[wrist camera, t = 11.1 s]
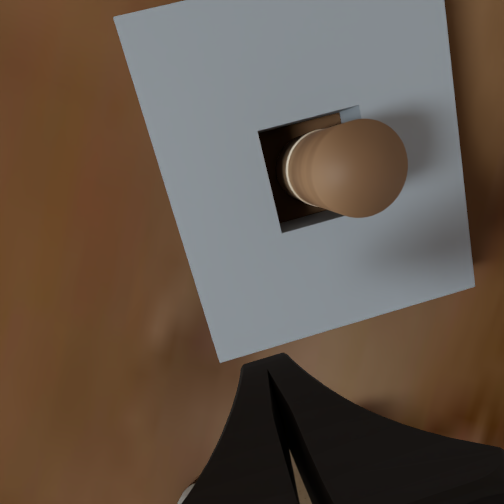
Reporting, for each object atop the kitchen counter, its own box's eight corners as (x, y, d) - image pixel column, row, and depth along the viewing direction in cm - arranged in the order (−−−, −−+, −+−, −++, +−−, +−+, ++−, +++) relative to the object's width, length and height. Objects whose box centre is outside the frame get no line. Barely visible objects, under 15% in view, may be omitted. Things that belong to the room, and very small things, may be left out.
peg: (330, 125, 20) (397, 103, 13) (346, 189, 21) (418, 201, 14) (266, 146, 19) (302, 135, 13) (285, 210, 20) (328, 232, 14)
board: (406, -29, 18) (438, -58, 16) (445, 273, 22) (474, 286, 20) (125, 37, 18) (112, 17, 15) (217, 340, 22) (219, 362, 19)
